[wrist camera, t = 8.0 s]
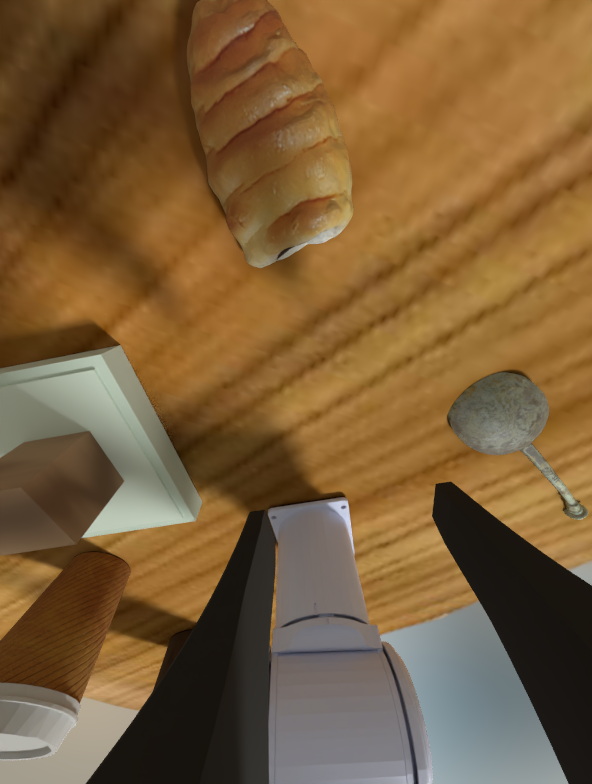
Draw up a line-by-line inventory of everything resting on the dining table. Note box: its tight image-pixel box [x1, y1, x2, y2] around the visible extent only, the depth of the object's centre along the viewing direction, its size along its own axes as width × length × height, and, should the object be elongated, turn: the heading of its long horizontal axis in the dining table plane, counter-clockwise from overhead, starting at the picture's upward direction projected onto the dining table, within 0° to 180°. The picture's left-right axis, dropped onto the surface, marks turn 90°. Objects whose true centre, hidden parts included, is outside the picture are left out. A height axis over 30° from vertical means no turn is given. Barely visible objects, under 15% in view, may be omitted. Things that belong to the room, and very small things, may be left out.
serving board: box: [0, 345, 202, 538], centre depth 20 cm, size 16×12×2 cm
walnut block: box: [0, 431, 124, 555], centre depth 16 cm, size 5×5×5 cm
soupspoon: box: [448, 372, 588, 520], centre depth 22 cm, size 22×3×7 cm
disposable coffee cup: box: [0, 552, 131, 760], centre depth 23 cm, size 10×10×12 cm
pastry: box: [187, 0, 354, 268], centre depth 11 cm, size 9×7×4 cm
